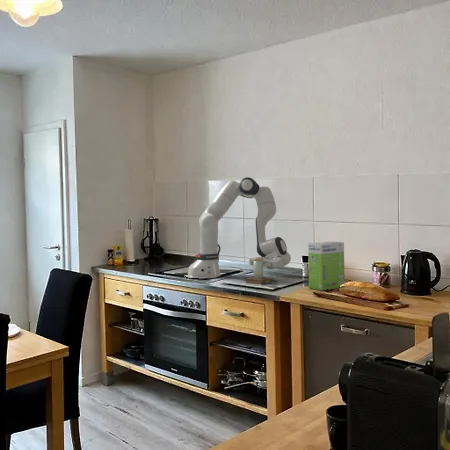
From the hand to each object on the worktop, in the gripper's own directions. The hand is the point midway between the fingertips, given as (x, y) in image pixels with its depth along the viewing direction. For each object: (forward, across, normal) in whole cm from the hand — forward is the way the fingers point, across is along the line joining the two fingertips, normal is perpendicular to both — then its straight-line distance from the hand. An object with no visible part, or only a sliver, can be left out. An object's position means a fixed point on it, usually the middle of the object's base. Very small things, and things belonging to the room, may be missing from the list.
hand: (257, 264), depth 292 cm
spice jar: (-1, 0, +8) cm, 8 cm away
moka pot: (-20, -53, +11) cm, 57 cm away
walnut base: (-1, 0, +10) cm, 11 cm away
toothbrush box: (-8, +40, +11) cm, 42 cm away
